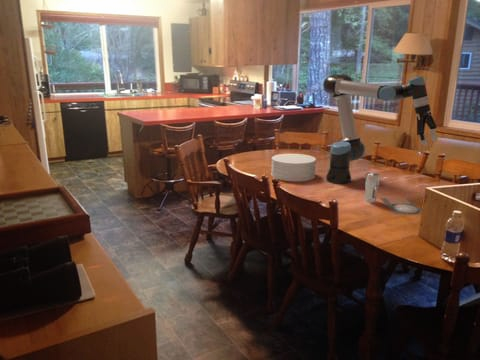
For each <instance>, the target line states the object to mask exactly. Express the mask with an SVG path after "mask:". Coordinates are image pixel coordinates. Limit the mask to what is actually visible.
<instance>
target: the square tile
mask: <svg viewBox="0 0 480 360" xmlns="http://www.w3.org/2000/svg"><path fill="white" fill-rule="evenodd" d="M384 198H385V199H386V200H387V201H388V202H389V203H390V204H391V205H399V204H404V205H411V203H410V202H409V201H408V200H407V199H408V198H405V197H390V196H389V197H387V196H386V197H384Z"/></svg>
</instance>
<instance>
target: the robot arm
mask: <svg viewBox="0 0 480 360" xmlns="http://www.w3.org/2000/svg"><path fill="white" fill-rule="evenodd" d="M322 86H323V90H324V91H325V92H326V94H329V95H332V96H333V99H334V100H335V101H336V107H337V111H338V117H339V124H340V128H341V133H342V139H341V140H340V141H335V142H333V143H332V144H331V146H330V157H329V169H328V171H327V173H326V177H325V181H326V182H329V183H331V184H340V185H341V184H343V185H345V184H350V183H351V182H352V174H351V171H350V164H351V163H350V162H353V161H357V160H359V159H361V158H363V156H364V155H365V154H366V153H365V152H366V146H365V144H364V143H363V142H362V141H361V138H360V136H358V134H357V128H356V122H355V116H354V111H353V105H352V99H351V98H352V96H356V97H357V96H358V97H364V98H371V99H378V100H381V101H383V102H392V101H393V102H394V101H399V100H403V99H404V100H405V99H407V98H411V97H412V102H413V106H414V111H415V114H416V115H418V116H416V134H417V136H419V138H420V143H421V147H427V146H428V141H427V136H426V133H425V131H426V125H427V126H428V128H429V134H430V139H431V141H432V142H434V141H438V138H437V132H436V129H437V128H438V127H437V124H436V122H435V120H434V117H433V116H432V111H431V106H430V104H429V103H430V102H429V99H430V98H429V96H428V91H427V87H426V82H425V78H424V76H422V75H420V76H417V77H413V78H410V79H408V83H405V84H400V85H382V84H376V83H375V84H374V83H368V82H367V83H366V82H360V81H355V80H354V79H353V77H351V76H350V75H348V74H343V73H341V74H339V73H338V74H331V75H328V76H327V77H325V78H324V80H323V83H322Z"/></svg>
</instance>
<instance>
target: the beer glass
mask: <svg viewBox="0 0 480 360" xmlns="http://www.w3.org/2000/svg"><path fill="white" fill-rule="evenodd" d="M364 179H365V180H364V181H365V182H364V187H365V188H364V189H365V197H364V202H365V203H367V204H368V203H369V204H376V203H377V194H378V190H379V186H380V173H377V172H367V173H366V174H365V178H364Z"/></svg>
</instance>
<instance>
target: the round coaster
mask: <svg viewBox="0 0 480 360" xmlns="http://www.w3.org/2000/svg"><path fill="white" fill-rule="evenodd" d="M394 210H396V211H398V212H401V213H408V214H407V215H413V214H412V213H417V212H418V209H417V208H416V207H414V206H411V205H404V204H399V205H395V206H394Z"/></svg>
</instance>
